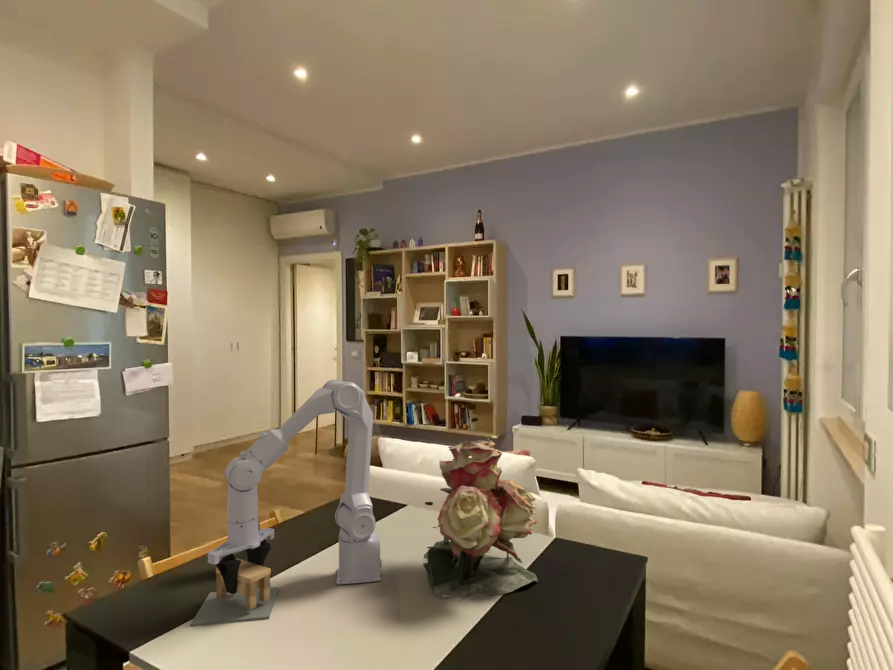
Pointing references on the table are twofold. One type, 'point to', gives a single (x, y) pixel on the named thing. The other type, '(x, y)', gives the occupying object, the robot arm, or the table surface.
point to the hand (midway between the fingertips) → (243, 586)
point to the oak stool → (248, 583)
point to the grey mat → (233, 608)
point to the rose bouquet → (479, 525)
